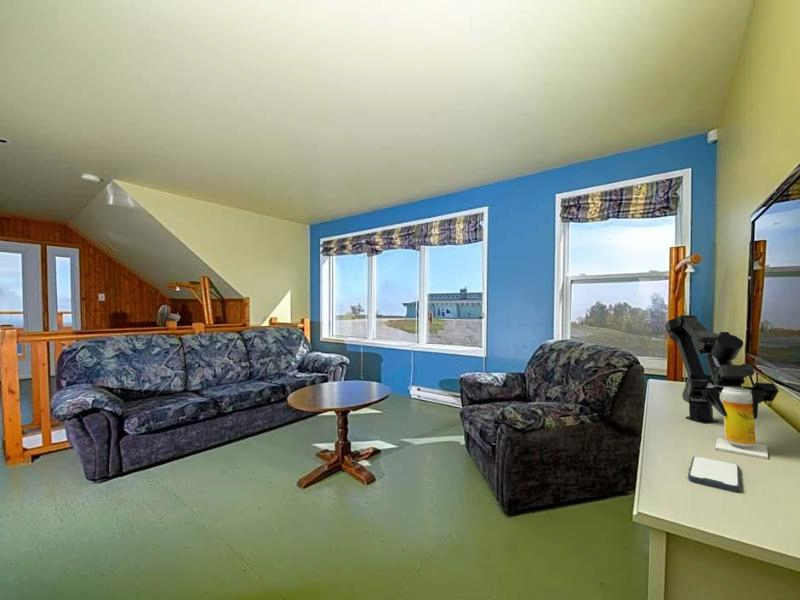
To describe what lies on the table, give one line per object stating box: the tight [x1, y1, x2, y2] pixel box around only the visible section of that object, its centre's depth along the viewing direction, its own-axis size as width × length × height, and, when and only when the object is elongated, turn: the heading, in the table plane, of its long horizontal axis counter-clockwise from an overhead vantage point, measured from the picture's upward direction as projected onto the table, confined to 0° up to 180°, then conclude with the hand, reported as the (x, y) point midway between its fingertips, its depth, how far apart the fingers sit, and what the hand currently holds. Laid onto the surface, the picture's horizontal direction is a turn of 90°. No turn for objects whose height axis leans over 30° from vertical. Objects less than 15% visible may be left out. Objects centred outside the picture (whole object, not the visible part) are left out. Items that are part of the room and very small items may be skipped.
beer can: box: [721, 387, 757, 447], centre depth 96 cm, size 6×6×15 cm
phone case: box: [687, 455, 742, 493], centre depth 82 cm, size 9×2×16 cm
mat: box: [714, 437, 769, 460], centre depth 95 cm, size 10×10×1 cm
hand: (740, 416), depth 95 cm, fingers closed on beer can, 6 cm apart
